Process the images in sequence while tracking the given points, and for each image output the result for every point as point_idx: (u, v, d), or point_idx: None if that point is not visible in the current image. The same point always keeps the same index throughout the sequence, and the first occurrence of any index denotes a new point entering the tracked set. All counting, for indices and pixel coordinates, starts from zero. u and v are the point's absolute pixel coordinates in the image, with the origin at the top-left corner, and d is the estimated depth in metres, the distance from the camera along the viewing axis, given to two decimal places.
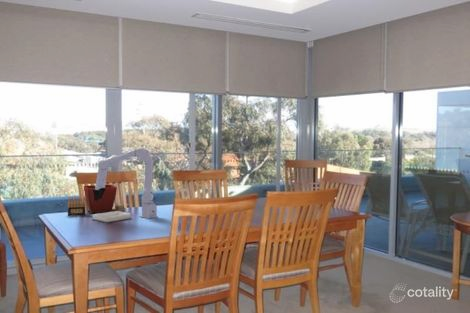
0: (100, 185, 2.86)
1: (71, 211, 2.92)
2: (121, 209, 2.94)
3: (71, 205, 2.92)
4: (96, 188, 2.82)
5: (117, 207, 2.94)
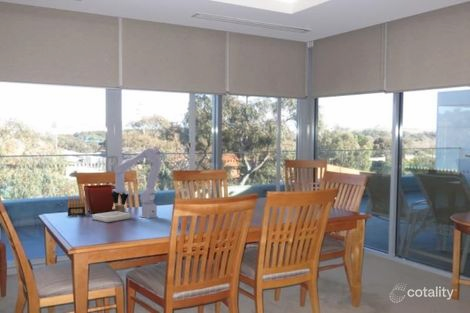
0: (123, 189, 2.94)
1: (71, 211, 2.92)
2: (121, 209, 2.94)
3: (71, 205, 2.92)
4: (126, 192, 2.90)
5: (117, 207, 2.94)
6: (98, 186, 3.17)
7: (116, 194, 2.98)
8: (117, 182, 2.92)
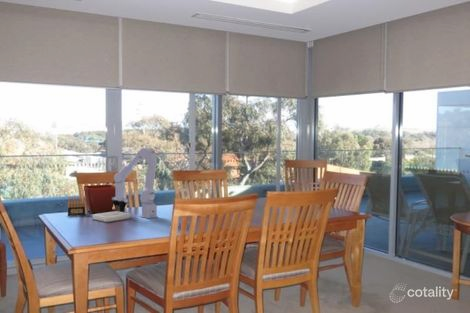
0: (123, 197, 2.94)
1: (71, 211, 2.92)
2: None
3: (71, 205, 2.92)
4: (126, 201, 2.91)
5: (117, 207, 2.94)
6: (98, 186, 3.17)
7: (117, 202, 2.97)
8: (117, 190, 2.92)
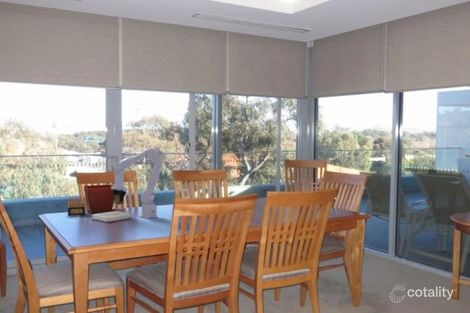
0: (122, 186, 2.92)
1: (71, 211, 2.92)
2: None
3: (71, 205, 2.92)
4: (125, 190, 2.89)
5: (116, 196, 2.92)
6: (98, 186, 3.17)
7: (117, 192, 2.95)
8: (117, 179, 2.91)
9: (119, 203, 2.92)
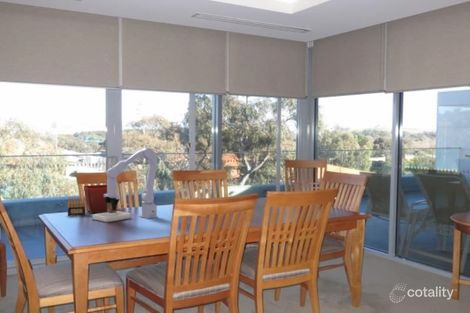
0: (115, 194, 2.80)
1: (71, 211, 2.92)
2: None
3: (71, 205, 2.92)
4: (118, 197, 2.76)
5: (109, 204, 2.79)
6: (98, 186, 3.17)
7: (109, 199, 2.82)
8: (112, 187, 2.78)
9: (112, 211, 2.79)
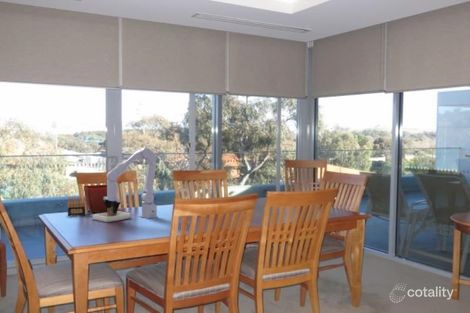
0: (115, 197, 2.80)
1: (71, 211, 2.92)
2: None
3: (71, 205, 2.92)
4: (118, 200, 2.76)
5: (109, 209, 2.80)
6: (98, 186, 3.17)
7: (108, 202, 2.83)
8: (112, 190, 2.78)
9: None
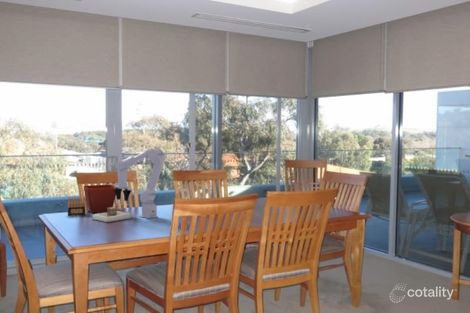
0: (126, 185, 2.95)
1: (71, 211, 2.92)
2: (113, 211, 2.80)
3: (71, 205, 2.92)
4: (129, 188, 2.91)
5: (109, 209, 2.80)
6: (98, 186, 3.17)
7: (118, 190, 2.98)
8: (119, 178, 2.93)
9: None
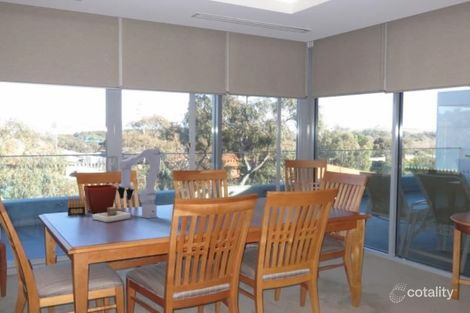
0: (129, 184, 3.00)
1: (71, 211, 2.92)
2: (113, 211, 2.80)
3: (71, 205, 2.92)
4: (132, 187, 2.96)
5: (109, 209, 2.80)
6: (98, 186, 3.17)
7: (122, 189, 3.03)
8: (122, 177, 2.98)
9: None
